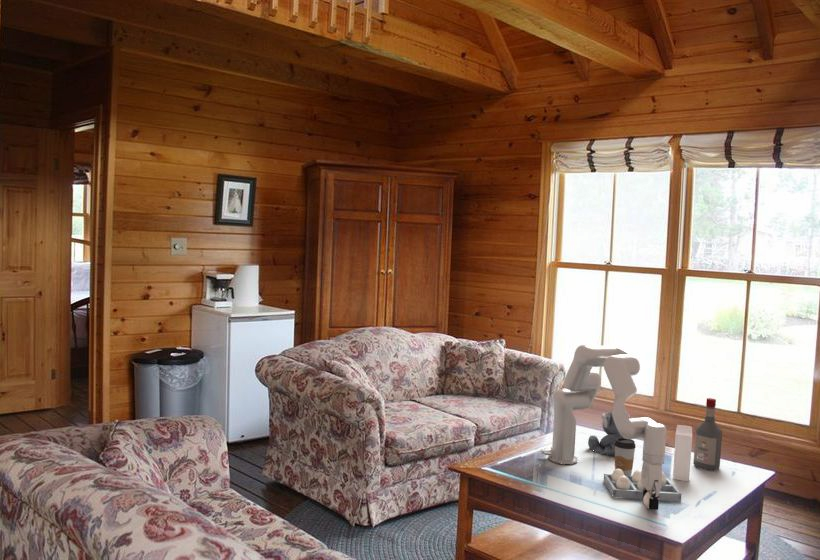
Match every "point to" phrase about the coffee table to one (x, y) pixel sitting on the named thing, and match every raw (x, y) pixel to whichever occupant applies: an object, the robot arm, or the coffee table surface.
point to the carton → (638, 486)
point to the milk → (682, 453)
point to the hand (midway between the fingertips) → (650, 504)
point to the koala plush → (606, 437)
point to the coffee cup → (624, 455)
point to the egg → (647, 498)
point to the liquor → (708, 441)
